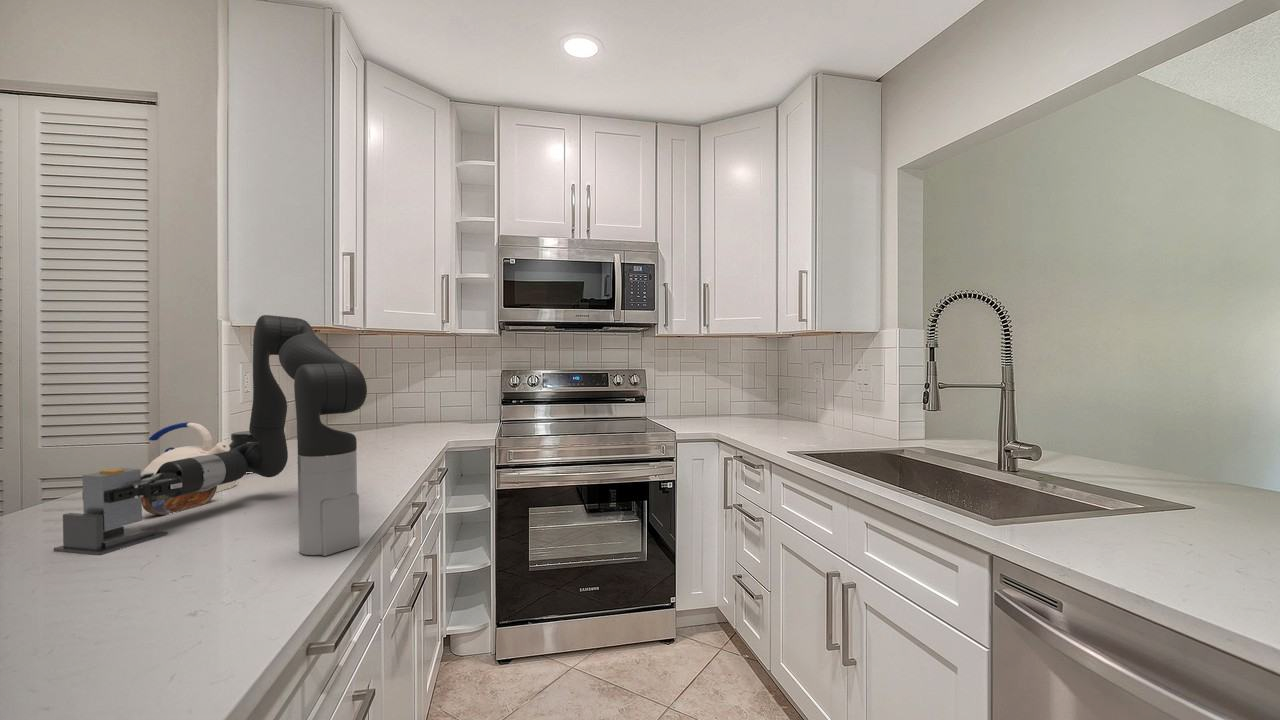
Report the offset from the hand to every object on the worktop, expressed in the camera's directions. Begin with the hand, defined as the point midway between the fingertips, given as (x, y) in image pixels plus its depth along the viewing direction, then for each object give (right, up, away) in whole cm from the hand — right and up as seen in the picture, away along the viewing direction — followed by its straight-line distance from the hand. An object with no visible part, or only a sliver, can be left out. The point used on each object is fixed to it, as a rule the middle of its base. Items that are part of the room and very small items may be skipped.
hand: (95, 496), depth 97 cm
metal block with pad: (+1, -6, +3) cm, 7 cm away
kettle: (-19, -10, +42) cm, 47 cm away
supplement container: (-20, -9, +65) cm, 69 cm away
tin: (-6, -9, +24) cm, 27 cm away
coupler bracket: (+1, -9, +2) cm, 10 cm away
